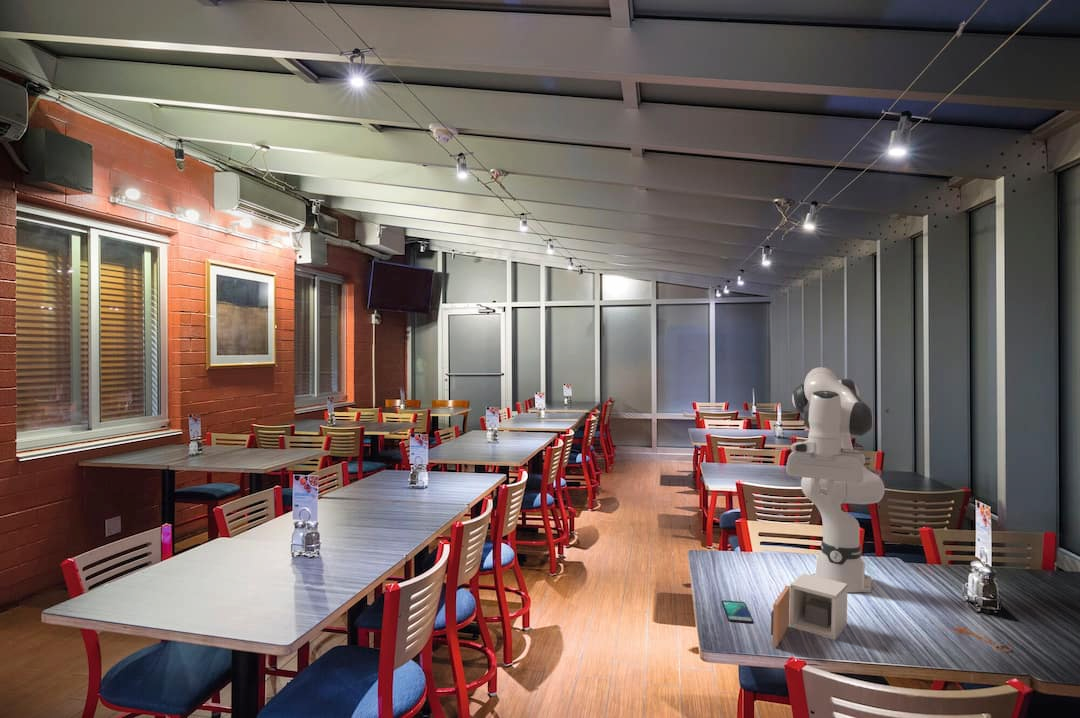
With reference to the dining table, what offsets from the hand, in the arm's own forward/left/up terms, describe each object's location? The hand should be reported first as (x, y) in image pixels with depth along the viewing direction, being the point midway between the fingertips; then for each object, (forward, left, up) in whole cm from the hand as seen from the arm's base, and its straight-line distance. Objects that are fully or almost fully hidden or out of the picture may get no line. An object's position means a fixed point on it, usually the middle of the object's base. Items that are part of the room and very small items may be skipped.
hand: (823, 494), depth 172 cm
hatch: (+17, -6, -37) cm, 41 cm away
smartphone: (+10, -21, -38) cm, 44 cm away
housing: (+3, 0, -37) cm, 37 cm away
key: (-20, +35, -38) cm, 55 cm away
